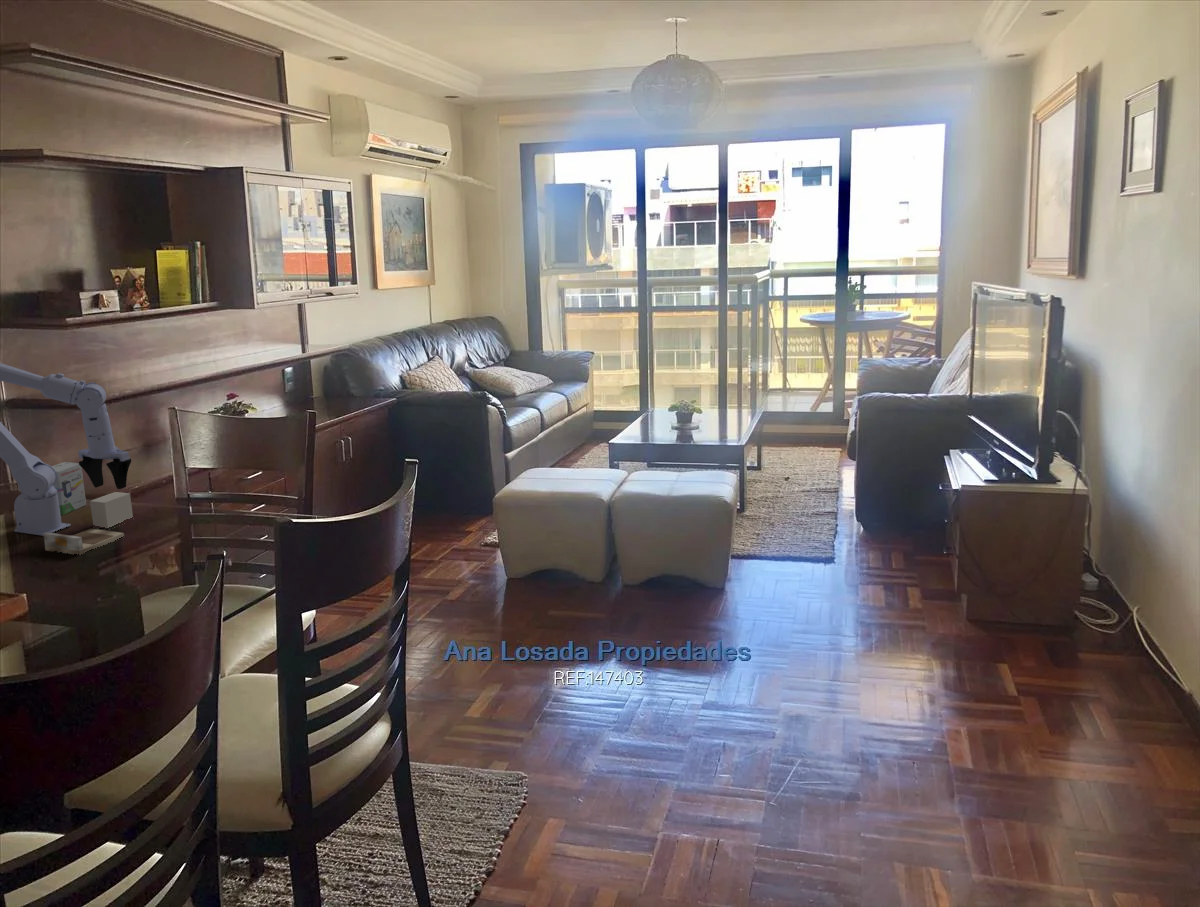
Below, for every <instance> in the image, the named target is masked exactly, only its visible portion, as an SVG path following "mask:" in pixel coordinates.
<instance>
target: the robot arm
mask: <svg viewBox="0 0 1200 907" xmlns="http://www.w3.org/2000/svg"><path fill="white" fill-rule="evenodd" d="M0 382H5V383H7V384H9V383H10V384H12V385H16V386H17V385H18V386H21V387H24V388H29V389H34V390H39V391H40V393H41V394H42V395H43V397H44V398H49V399H50V400H51V399H52V400H56V401H59V402H62V403H66V404H70V405H76V406H77V408H78V409H80V412H81V416H82V417H81V418H82V423H83V428H84V432H85V438H86V442H87V447H88V448H83V449H80V450H78V451H77V452H78V453H77V454H78V458H79V459H82V460H81V461H78V463H79V465H80V466H81V467H82V470H84V472H85V473H86V474H87V476H88V477H89V480H90V481H91V483H92V485H93V487H94V488H96V489H97V488H99V487H102V486H104V475H103V460H112V461H109V462H106V464H105V465H106V467H108V469H109V471H110V473H111V475H112V477H113V481H114V483H115V484H114V485H115V486H116V489H117V490H122V489H125V488H126V487H127V480H128V479H127V478H128V474H129V473H128V471H129V467H130V465H131V463H132V458H130V455H129V451H125V450H122V449H120V448H119V447H118V446H116V444H115V439H114V434H113V431H112V425H111V420H110V415H109V413H108V408H107V403H105V402H106V400H107V391H106V390H105V388H104V387H103V386H102V385H101V384H97V383H96V382H88V383H86V380H82V379H81V380H75V379H71V378H69V377H66V376H65V374H64V373H60V372H58V373H56V374H55V373H51V374H48V375H47V376H42V375H40V374H37V373H33V372H29V371H27V370H24V369H22V368H21V369H20V368H17V367H14V366H12V365H8V364H6V363H2V362H0ZM0 459H1V460H3V462H4V463H5V464H6V465H7V466H8V467H9V470H10V473H11V475H12V476H11V477H12V478H13V479H14V481H16V482H17V483H16V484H17V485H18V486H17V487H18V489H19V491H20V494H18V496H17V497H16V498H15V501H14V503H13V504H14V505H13V508H14V516H15V521H16V528H15V529H14V533H20V534H27V535H36V536H42V537H44V535H43V534H44V533H46V532H48V533H55V531H56V532H58V530H59V531H61V530H63V529H66V527H67V528H69V527H71V525H72V524H71V523H65V522H62V515H60V508H59V501H58V494H57V490H56V489H55V487H54V486H53V484H54V483H55V482H56V480H57V473H56V471H55V469H54V468H53V467H52V466H53V465H52V466H51V465H50V464H47V463H46V462H43V461H42V460H41V458H40V457H38V456H36V455H34V454H32V453H30V452H29V451H28V449H26V448H25V446H24V445H22V443H21V442H20V441H19V440H18V439H17V438H16V437H15V436H14V435H13V434H12V433H11V432H10V431H9V429H7V427H6V426H5V425H4V424H3V423H2V422H1V421H0ZM60 529H61V530H60Z"/></svg>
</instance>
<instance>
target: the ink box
mask: <svg viewBox="0 0 1200 907" xmlns="http://www.w3.org/2000/svg"><path fill="white" fill-rule="evenodd" d="M52 467H53V468H54V469H55V471H56V473H57V480H56V482H55V483H54V484H53V486H54V487H55V489H56V490H57V494H58V501H59V508H60V515H61V516H65V515H66V514H69V513H72V512H73V511H76V510H78V509H80V508H82V507H85V506H86V505H87V500H86V492H85V485H84V484H85V482H84V477H83V475H84V474H83V468H82V467H81V466H80V465H79V462H78V463H77V462H71V461H63V462H61V463H58V464H54V465H52Z"/></svg>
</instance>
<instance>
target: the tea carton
mask: <svg viewBox="0 0 1200 907" xmlns="http://www.w3.org/2000/svg"><path fill="white" fill-rule="evenodd" d="M131 498H132V497H131V493H128V492H120V491H114V492H111V493H108V494H106V495H103V496H99V497H96V498H94V499H92V500H89V504H90V511H91V519H92V525H95V526H100V527H105V528H109V527H112V526H114V525H116V524H118V523H121V522H123V521H124V520H126V519H130V518H132V517H133V518H134V516H133V515H134V514H133V507H132V500H131Z"/></svg>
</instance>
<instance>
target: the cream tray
mask: <svg viewBox="0 0 1200 907" xmlns="http://www.w3.org/2000/svg"><path fill="white" fill-rule="evenodd" d="M43 535H44V536H43V540H44V550H45V551H47V552H54V551H57V552H56V553H60V552H62V553H61V554H67V553H68V554H69V555H74V554H77V555H76V556H81V554H82V555H84V554H86V553H85V552H87V551H89V550H91V549H94V550H96V549H98V548H97V547H99V548H101V547H103V545H104V546H106V545H109V544H110V542H111V543H113V542H116V541H118V540H120V539H119V538H121V537H123V536H124V537H125V532H120V531H111V530H106V529H99V528H89V529H86V530H83V531H81V532H78V533H75V534H73V535H68V534H61V533H55V532H53V533H48V532H46V533H44V534H43ZM124 537H123V538H124ZM117 539H118V540H117ZM121 539H122V538H121ZM115 540H116V541H115ZM108 543H109V544H108ZM100 546H101V547H100ZM95 548H96V549H95ZM89 552H90V551H89ZM83 553H84V554H83ZM87 553H88V552H87ZM68 554H67V555H68ZM78 554H79V555H78Z"/></svg>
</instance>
